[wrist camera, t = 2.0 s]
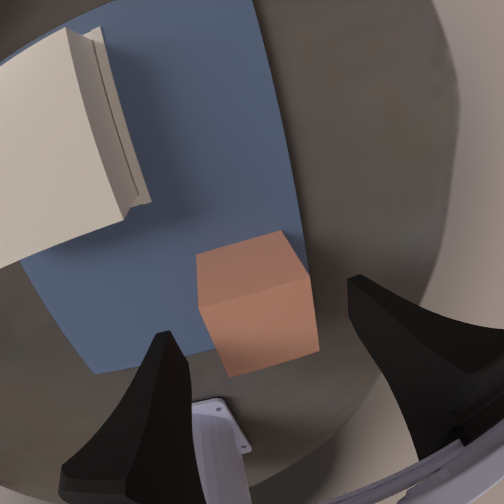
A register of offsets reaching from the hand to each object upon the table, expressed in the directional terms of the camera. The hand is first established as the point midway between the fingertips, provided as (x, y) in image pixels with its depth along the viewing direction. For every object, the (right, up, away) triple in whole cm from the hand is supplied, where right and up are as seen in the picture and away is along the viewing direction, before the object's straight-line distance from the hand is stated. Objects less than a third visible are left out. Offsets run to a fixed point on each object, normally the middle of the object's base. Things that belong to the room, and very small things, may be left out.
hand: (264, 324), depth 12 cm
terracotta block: (-1, +2, +3) cm, 4 cm away
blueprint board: (-6, +5, +1) cm, 8 cm away
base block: (-9, +7, -1) cm, 12 cm away
